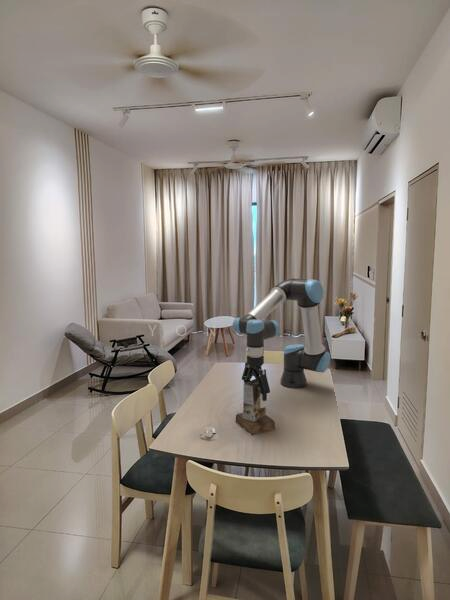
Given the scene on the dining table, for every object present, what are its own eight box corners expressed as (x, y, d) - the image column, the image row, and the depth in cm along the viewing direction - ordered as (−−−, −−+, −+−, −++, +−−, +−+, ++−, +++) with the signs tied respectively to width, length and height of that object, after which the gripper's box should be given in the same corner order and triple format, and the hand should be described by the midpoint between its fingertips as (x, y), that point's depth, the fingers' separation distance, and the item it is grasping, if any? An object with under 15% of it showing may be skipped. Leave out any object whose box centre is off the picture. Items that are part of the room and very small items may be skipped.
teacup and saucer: (209, 430, 168) (209, 421, 167) (223, 435, 163) (223, 426, 162) (195, 437, 161) (195, 428, 161) (209, 443, 156) (209, 434, 156)
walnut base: (258, 416, 180) (258, 408, 180) (274, 429, 168) (274, 420, 167) (235, 422, 175) (235, 413, 174) (251, 435, 162) (251, 426, 162)
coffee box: (254, 422, 165) (254, 386, 163) (242, 418, 169) (242, 383, 167) (266, 415, 172) (266, 381, 170) (254, 411, 176) (255, 378, 174)
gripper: (234, 349, 177) (234, 393, 179) (263, 364, 154) (263, 414, 157) (248, 347, 180) (248, 390, 183) (278, 361, 158) (278, 410, 161)
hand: (255, 401), depth 170 cm, fingers open, 13 cm apart
